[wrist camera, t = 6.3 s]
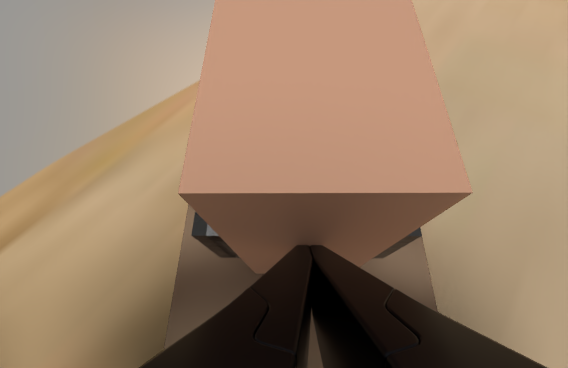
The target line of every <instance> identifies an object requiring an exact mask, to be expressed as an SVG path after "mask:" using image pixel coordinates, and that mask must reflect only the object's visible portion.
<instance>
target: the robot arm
mask: <svg viewBox="0 0 568 368" xmlns="http://www.w3.org/2000/svg"><path fill="white" fill-rule="evenodd" d="M311 309H312V316H313V322H314V326H315V331H316V336H317V340H318V345H319V350H320V354H321V359H322V363H323V368H547V367H545V366H543V365H541V364H539V363H537V362H535V361H533V360H531V359H529V358H527V357H525V356H523V355H521V354H519V353H517V352H515V351H513V350H511V349H509V348H507V347H505V346H504V345H502V344H500V343H498V342H496V341H494V340H492V339H490V338H488V337H486V336H484V335H482V334H480V333H478V332H476V331H474V330H472V329H470V328H468V327H466V326H464V325H462V324H460V323H458V322H456V321H454V320H452V319H450V318H448V317H446V316H444V315H442V314H440V313H439V312H437V311H435V310H433V309H431V308H429V307H427V306H425V305H423V304H422V303H420V302H418V301H416V300H415V299H413V298H411V297H409V296H408V295H406V294H404V293H403V292H401V291H399V290H398V289H394V288H393V287H392V286H390V285H388V284H387V283H385V282H383V281H382V280H380V279H378V278H376V277H375V276H373V275H371V274H370V273H368V272H366V271H365V270H363V269H361V268H360V267H358V266H356V265H355V264H353V263H351V262H350V261H348V260H346V259H345V258H343V257H341V256H340V255H338V254H336V253H335V252H333V251H331V250H330V249H328V248H326V247H324V246H323V245H311V246H310V247H309V246H308V245H296V246H295V247H294V248H293V249H292V250H291V251H289V252H288V253H287V254H286V255H285V256H284V257H283V258H282V259H280V260H279V261H278V262H277V263H276V264H275V265H274V266H273V267H271V268H270V269H269V270H268V271H267V272H266V273H265V274H264V275H262V276H261V277H260V278H259V279H258V280H257V281H256V282H255V283H254V284H252V285H251V286H250V287H249V288H247V289H246V290H245V291H244V292H243V293H242V294H240V295H239V296H238V297H237V298H236V299H234V300H233V301H232V302H231V303H230V304H228V305H227V306H226V307H224V308H223V309H222V310H220V311H219V312H217V313H216V314H215V315H213V316H212V317H211V318H209V319H208V320H206V321H205V322H203V323H202V324H201V325H199V326H198V327H196V328H195V329H193V330H192V331H190V332H189V333H188V334H186V335H185V336H183V337H182V338H180V339H179V340H178V341H176V342H175V343H173V344H172V345H170V346H169V347H167V348H166V349H165V350H163V351H162V352H160V353H159V354H157V355H156V356H154V357H153V358H152V359H150V360H149V361H147V362H146V363H144V364H143V365H142V366H140V367H139V368H307V366H308V353H309V340H310V327H311Z"/></svg>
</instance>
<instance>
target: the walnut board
mask: <svg viewBox="0 0 568 368" xmlns="http://www.w3.org/2000/svg"><path fill="white" fill-rule="evenodd" d="M195 212H196V211H195V210H194V209H193V208H192V207H191V206H190V205H188V210H187V216H186V222H185V228H184V234H183V240H182V245H181V251H180V257H179V263H178V269H177V275H176V280H175V286H174V292H173V298H172V304H171V310H170V315H169V321H168V327H167V333H166V339H165V345H164V350H165V349H166V348H167V347H169V346H170V345H172V344H173V343H175V342H176V341H178V340H179V339H180V338H182V337H183V336H185V335H186V334H188V333H189V332H190V331H192V330H193V329H195V328H196V327H198V326H199V325H201V324H202V323H203V322H205V321H206V320H208V319H209V318H211V317H212V316H213V315H215V314H216V313H217V312H219V311H220V310H222V309H223V308H224V307H226V306H227V305H228V304H230V303H231V302H232V301H233V300H234V299H236V298H237V297H238V296H239V295H240V294H242V293H243V292H244V291H245V290H246V289H247V288H249V287H250V286H251V285H252V284H254V283H255V282H256V281H257V280H258V279H259V278H260V277H261V276H262V275H264V274H256V273H255V272H254V271H253V270H252V269H251V268H250V267H249V266H248V265H247V264H246V263H245V262H244V261H243V260H242V259H241V258H220V257H219V256H218V255H216V254H215V253H214V252H212V251H211V250H210V249H208V248H207V247H206V246H204V245H203V244H202V243H200V242H199V241H198V240H196V239H195V238H194V237H192V236H191V234H192V228H193V222H194V215H195ZM360 268H361V269H363V270H365V271H366V272H368V273H370V274H371V275H373V276H375V277H376V278H378V279H380V280H382V281H383V282H385V283H387V284H388V285H390V286H392V287H393V288H394V289H398V290H399V291H401V292H403V293H404V294H406V295H408V296H409V297H411V298H413V299H415V300H416V301H418V302H420V303H422V304H423V305H425V306H427V307H429V308H431V309H433V310H435V311H437V306H436V301H435V297H434V292H433V287H432V283H431V278H430V273H429V268H428V264H427V259H426V254H425V250H424V245H423V240H422V236H421V237H419V238H418V239H416V240H414V241H412V242H411V243H409V244H407V245H406V246H404V247H402V248H400V249H399V250H397V251H395V252H394V253H392V254H390V255H388V256H387V257H385V258H372V259H371V260H369V261H368V262H366V263H365V264H363V265H362V266H360ZM437 312H438V311H437ZM307 368H323V363H322V359H321V354H320V350H319V345H318V340H317V336H316V331H315V326H314V322H313V316H312V309H311V327H310V340H309V353H308V366H307Z"/></svg>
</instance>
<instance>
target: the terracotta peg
mask: <svg viewBox="0 0 568 368" xmlns="http://www.w3.org/2000/svg"><path fill="white" fill-rule="evenodd" d="M471 193H473V192H472V189H471V186H470V182H469V179H468V176H467V173H466V170H465V167H464V163H463V160H462V157H461V154H460V151H459V148H458V145H457V141H456V138H455V135H454V132H453V129H452V126H451V122H450V119H449V116H448V113H447V110H446V107H445V104H444V100H443V97H442V94H441V91H440V88H439V85H438V82H437V78H436V75H435V72H434V69H433V66H432V63H431V59H430V56H429V53H428V50H427V47H426V44H425V41H424V37H423V34H422V31H421V28H420V25H419V22H418V18H417V15H416V12H415V9H414V6H413V3H412V0H215V5H214V10H213V15H212V20H211V26H210V30H209V36H208V41H207V46H206V51H205V57H204V62H203V67H202V72H201V77H200V82H199V87H198V93H197V98H196V103H195V108H194V113H193V118H192V124H191V129H190V134H189V139H188V144H187V150H186V155H185V160H184V165H183V170H182V175H181V181H180V186H179V191H178V194H179V195H180V196H181V197H182V198H183V199H184V200H185V201H186V202H187V203H188V204H189V205H190V206H191V207H192V208H193V209H194V210H195V211H196V212H197V213H198V214H199V216H200V217H201V218H202V219H203V220H204V221H205V222H206V223H207V224H208V225H209V226H210V227H211V228H212V229H213V230H214V231H215V232H216V233H217V234H218V235H219V236H220V237H221V238H222V239H223V240H224V241H225V242H226V243H227V244H228V246H229V247H230V248H231V249H232V250H233V251H234V252H235V253H236V254H237V255H238V256H239V257H240V258H241V259H242V260H243V261H244V262H245V263H246V264H247V265H248V266H249V267H250V268H251V269H252V270H253V271H254V272H255V273H256V274H265V273H266V272H267V271H268V270H269V269H270V268H271V267H273V266H274V265H275V264H276V263H277V262H278V261H279V260H280V259H282V258H283V257H284V256H285V255H286V254H287V253H288V252H289V251H291V250H292V249H293V248H294V247H295V246H296V245H308V246H309V247H310V246H311V245H323V246H324V247H326V248H328V249H330V250H331V251H333V252H335V253H336V254H338V255H340V256H341V257H343V258H345V259H346V260H348V261H350V262H351V263H353V264H355V265H356V266H358V267H360V266H362V265H363V264H365V263H366V262H368V261H369V260H371V259H372V258H374V257H375V256H377V255H378V254H380V253H382V252H383V251H385V250H386V249H388V248H389V247H391V246H392V245H394V244H395V243H397V242H398V241H400V240H401V239H403V238H404V237H406V236H407V235H409V234H410V233H412V232H413V231H415V230H417V229H418V228H420V227H421V226H423V225H424V224H426V223H427V222H429V221H430V220H432V219H433V218H435V217H436V216H438V215H439V214H441V213H442V212H444V211H445V210H447V209H448V208H450V207H452V206H453V205H455V204H456V203H458V202H459V201H461V200H462V199H464V198H465V197H467V196H468V195H470V194H471Z"/></svg>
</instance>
